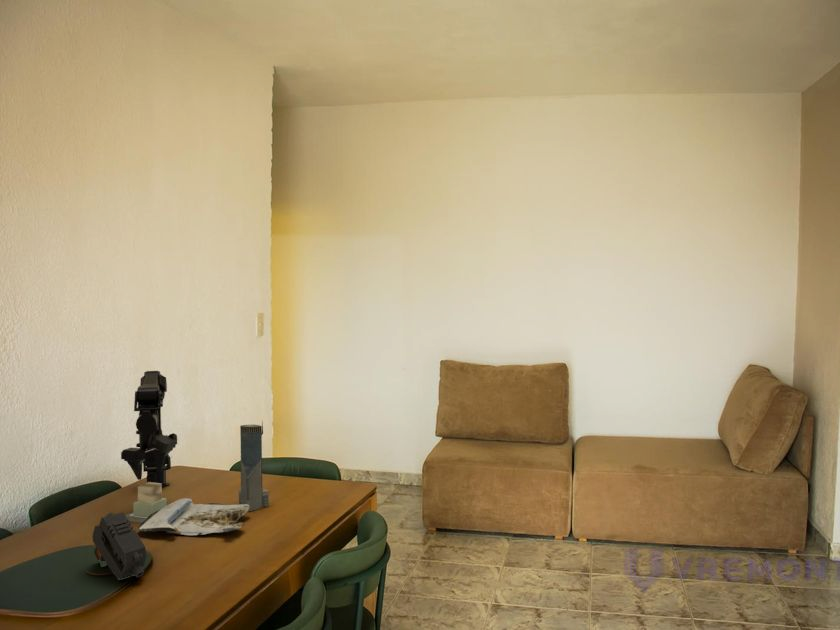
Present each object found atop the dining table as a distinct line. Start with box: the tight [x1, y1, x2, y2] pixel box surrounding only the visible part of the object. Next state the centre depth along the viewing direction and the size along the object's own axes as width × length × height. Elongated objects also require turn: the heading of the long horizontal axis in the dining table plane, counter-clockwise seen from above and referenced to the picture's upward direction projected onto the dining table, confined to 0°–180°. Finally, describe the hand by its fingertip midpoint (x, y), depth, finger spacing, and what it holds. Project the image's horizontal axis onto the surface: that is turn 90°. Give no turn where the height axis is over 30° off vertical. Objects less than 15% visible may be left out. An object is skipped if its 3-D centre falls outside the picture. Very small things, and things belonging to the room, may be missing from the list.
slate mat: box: [125, 511, 147, 524], centre depth 220 cm, size 16×12×1 cm
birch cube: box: [137, 481, 163, 504], centre depth 220 cm, size 5×5×5 cm
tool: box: [92, 511, 148, 579], centre depth 176 cm, size 6×19×15 cm, turn 51°
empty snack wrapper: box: [136, 497, 250, 536], centre depth 210 cm, size 24×30×5 cm
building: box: [238, 421, 270, 513], centre depth 226 cm, size 10×9×30 cm
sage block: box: [132, 497, 168, 517], centre depth 220 cm, size 7×7×4 cm
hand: (149, 475), depth 220 cm, fingers open, 9 cm apart
